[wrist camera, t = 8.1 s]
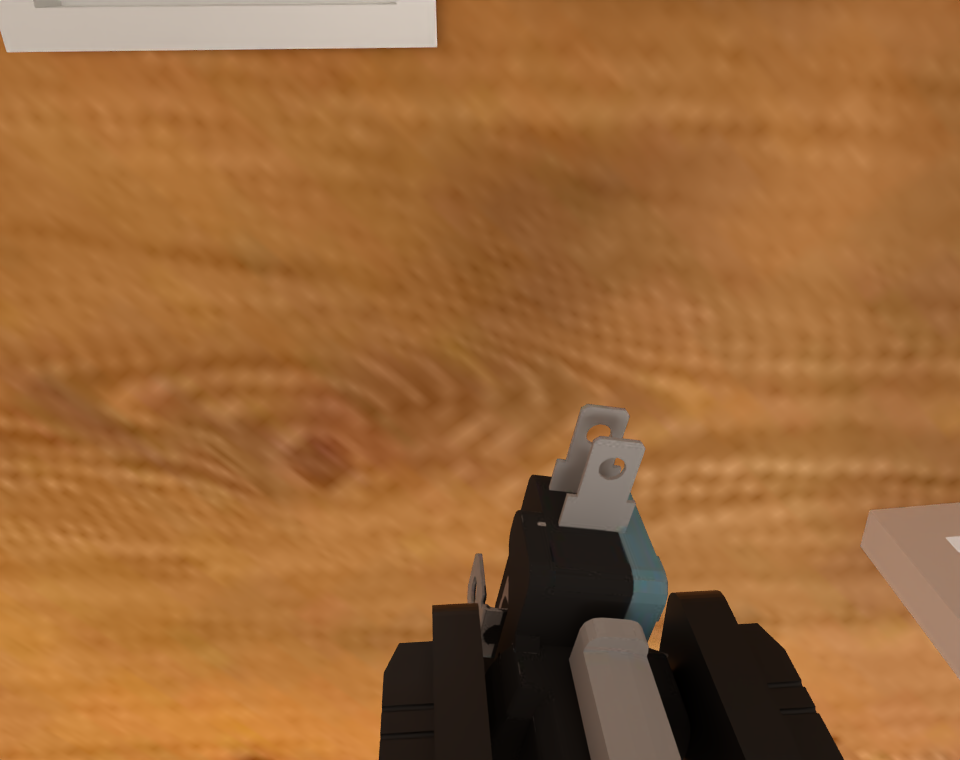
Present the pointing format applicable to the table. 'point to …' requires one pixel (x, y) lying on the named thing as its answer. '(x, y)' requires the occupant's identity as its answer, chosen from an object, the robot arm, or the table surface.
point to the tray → (215, 24)
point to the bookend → (922, 567)
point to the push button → (580, 616)
